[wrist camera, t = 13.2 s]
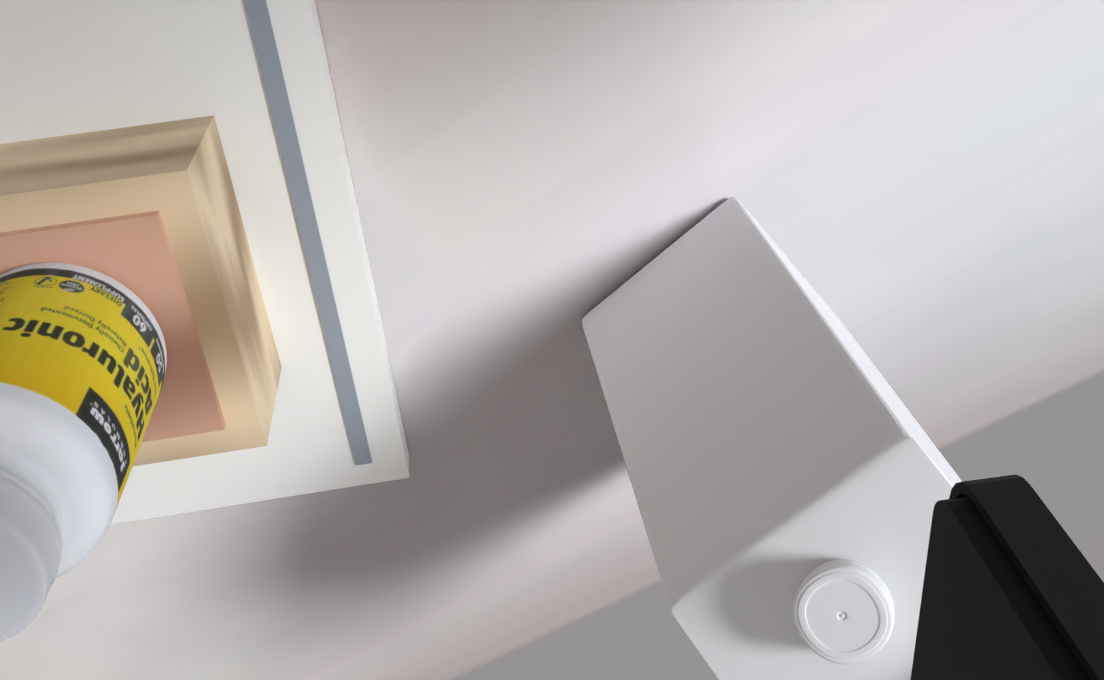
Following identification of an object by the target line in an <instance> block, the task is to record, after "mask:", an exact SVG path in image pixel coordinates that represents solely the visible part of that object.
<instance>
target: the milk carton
mask: <svg viewBox="0 0 1104 680" xmlns="http://www.w3.org/2000/svg"><path fill="white" fill-rule="evenodd" d="M582 326H583V329H584V332H585V336H586V339H587V342H588V345H589V348H590V352H591V355H592V358H593V361H594V365H595V368H596V371H597V374H598V377H599V381H600V384H601V387H602V390H603V394H604V397H605V400H606V403H607V406H608V410H609V413H610V416H611V419H612V423H613V426H614V429H615V432H616V435H617V439H618V442H619V445H620V448H621V452H622V455H623V458H624V461H625V464H626V468H627V471H628V474H629V477H630V480H631V484H632V487H633V490H634V493H635V497H636V500H637V503H638V506H639V509H640V513H641V516H642V519H643V522H644V526H645V529H646V532H647V535H648V538H649V542H650V545H651V548H652V551H653V555H654V558H655V561H656V564H657V567H658V571H659V574H660V577H661V580H662V583H663V586H664V589H665V592H666V596H667V598H668V601H669V604H670V607H671V612H672V613H673V615H674V616H675V617H676V619H677V621H678V622H679V624H680V625H681V627H682V628H683V629H684V631H685V632H686V634H687V635H688V636H689V638H690V639H691V641H692V642H693V644H694V645H695V646H696V648H697V649H698V651H699V652H700V653H701V655H702V656H703V658H704V659H705V660H706V662H707V663H708V665H709V666H710V668H711V669H712V670H713V672H714V673H715V675H716V676H717V677H718V679H719V680H911V672H912V665H913V657H914V650H915V642H916V635H917V627H918V620H919V612H920V605H921V597H922V590H923V582H924V575H925V567H926V560H927V552H928V545H929V537H930V530H931V522H932V515H933V509H934V505H935V504H936V502H937V501H940V500H946V499H949V497H950V493H951V489H952V488H953V486H954V485H955V483H959V482H962V481H961V480H960V478H959V477H958V476H957V474H956V473H955V472H954V470H953V469H952V468H951V466H950V465H949V464H948V462H947V461H946V460H945V458H944V457H943V456H942V454H941V453H940V452H939V450H938V449H937V448H936V446H935V445H934V444H933V442H932V441H931V440H930V438H929V437H928V436H927V435H926V433H925V432H924V431H923V429H922V428H921V427H920V425H919V424H918V423H917V421H916V420H915V419H914V417H913V416H912V415H911V413H910V412H909V411H908V409H907V408H906V407H905V405H904V404H903V403H902V401H901V400H900V399H899V397H898V396H897V395H896V393H895V392H894V391H893V389H892V388H891V387H890V386H889V384H888V383H887V382H886V380H885V379H884V378H883V376H882V375H881V374H880V372H879V371H878V370H877V368H876V367H875V366H874V364H873V363H872V362H871V360H870V359H869V358H868V356H867V355H866V354H865V352H864V351H863V350H862V348H861V347H860V346H859V344H858V343H857V342H856V340H855V339H854V338H853V337H852V335H851V334H850V333H849V331H848V330H847V329H846V327H845V326H844V325H843V323H842V322H841V321H840V320H839V318H838V317H837V316H836V315H835V314H834V313H833V311H832V310H831V309H830V308H829V307H828V305H827V304H826V303H825V302H824V301H823V299H822V298H821V297H820V296H819V295H818V294H817V292H816V291H815V290H814V289H813V288H812V286H811V285H810V284H809V283H808V282H807V280H806V279H805V278H804V277H803V276H802V275H801V273H800V272H799V271H798V270H797V269H796V267H795V266H794V265H793V264H792V263H791V261H790V260H789V259H788V258H787V257H786V256H785V254H784V253H783V252H782V251H781V250H780V248H779V247H778V246H777V245H776V244H775V243H774V241H773V240H772V239H771V238H770V237H769V235H768V234H767V233H766V232H765V231H764V229H763V228H762V227H761V226H760V225H759V224H758V222H757V221H756V220H755V219H754V218H753V216H752V215H751V214H750V213H749V212H748V210H747V209H746V208H745V207H744V206H743V205H742V203H741V202H740V201H739V200H738V199H737V198H736V197H731V198H729V199H727V200H726V201H725V202H723V203H722V204H721V205H720V206H718V207H717V208H716V209H715V210H713V211H712V212H711V213H710V214H708V215H707V216H706V217H705V218H704V219H702V220H701V221H700V222H699V223H697V224H696V225H695V226H694V227H693V228H691V229H690V230H689V231H688V232H686V233H685V234H684V235H683V236H681V237H680V238H679V239H678V240H677V241H675V242H674V243H673V244H672V245H670V246H669V247H668V248H667V249H666V250H664V251H663V252H662V253H661V254H659V255H658V256H657V257H656V258H655V259H653V260H652V261H651V262H650V263H648V264H647V265H646V266H645V267H644V268H642V269H641V270H640V271H639V272H637V273H636V274H635V275H634V276H633V277H631V278H630V279H629V280H628V281H626V282H625V283H624V284H623V285H622V286H620V287H619V288H618V289H617V290H615V291H614V292H613V293H612V294H611V295H609V296H608V297H607V298H606V299H604V300H603V301H602V302H601V303H600V304H598V305H597V306H596V307H595V308H593V309H592V310H591V311H590V312H589V313H588V314H587V315H586V316H584V318H583V319H582Z"/></svg>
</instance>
